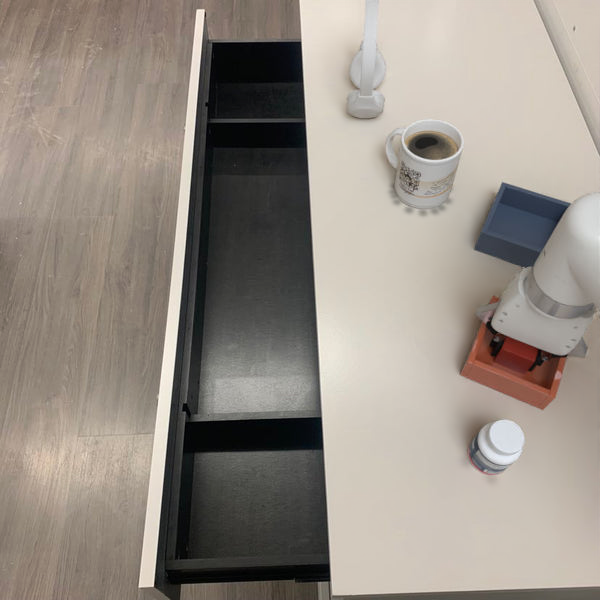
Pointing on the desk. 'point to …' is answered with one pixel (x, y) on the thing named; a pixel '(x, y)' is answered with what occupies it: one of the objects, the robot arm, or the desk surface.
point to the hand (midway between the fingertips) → (513, 354)
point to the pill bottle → (496, 447)
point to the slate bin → (519, 225)
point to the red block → (516, 355)
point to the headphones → (367, 70)
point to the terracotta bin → (512, 372)
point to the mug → (425, 161)
